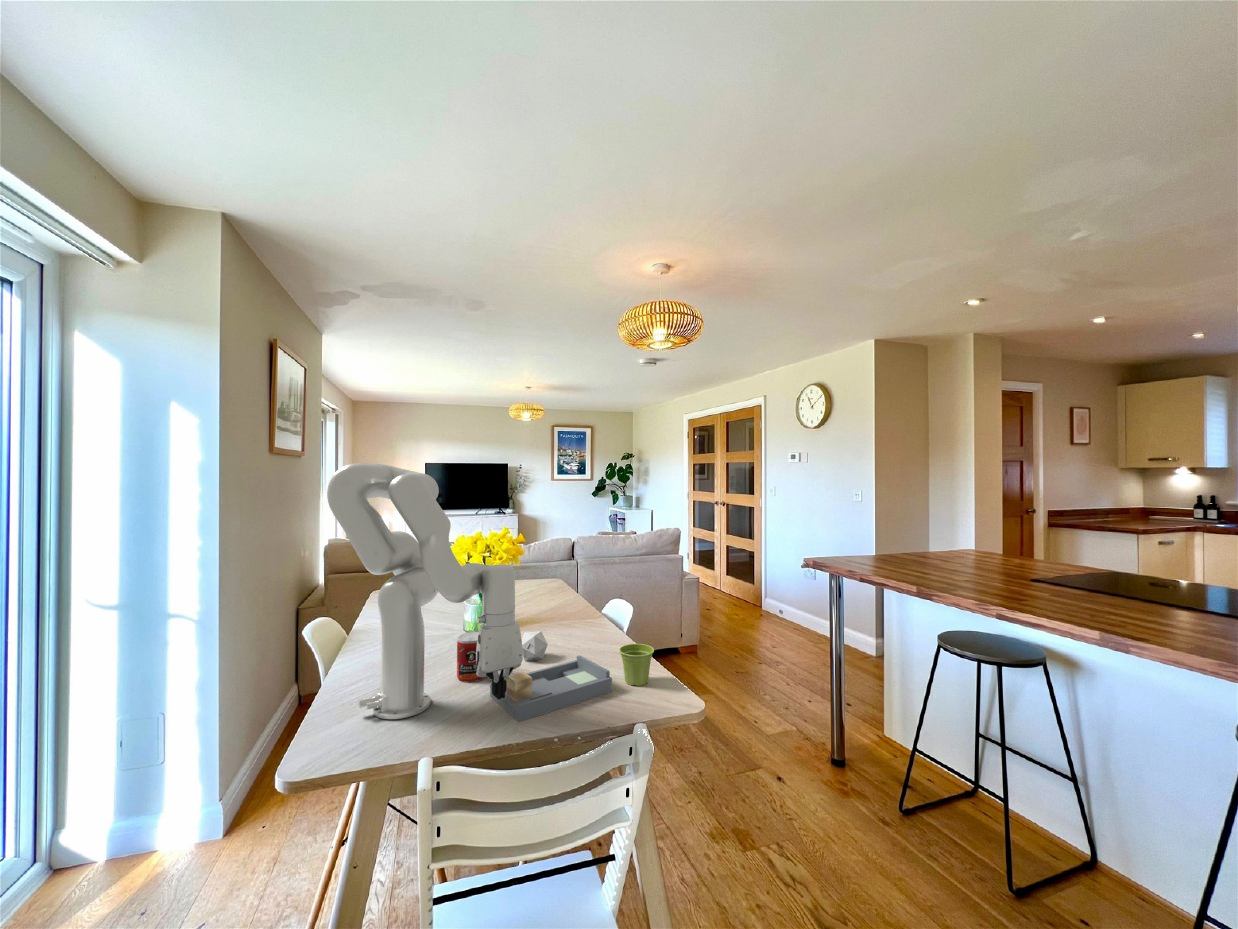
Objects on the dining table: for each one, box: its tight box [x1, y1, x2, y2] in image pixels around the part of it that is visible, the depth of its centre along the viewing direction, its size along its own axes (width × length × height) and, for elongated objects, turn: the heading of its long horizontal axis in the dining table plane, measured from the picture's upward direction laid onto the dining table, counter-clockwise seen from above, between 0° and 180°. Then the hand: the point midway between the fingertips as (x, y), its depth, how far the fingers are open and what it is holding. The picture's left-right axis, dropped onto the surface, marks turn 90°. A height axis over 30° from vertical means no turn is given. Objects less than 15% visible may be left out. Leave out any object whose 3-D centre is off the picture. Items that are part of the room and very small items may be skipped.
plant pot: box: [618, 643, 655, 687], centre depth 135 cm, size 9×9×9 cm
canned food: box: [456, 631, 484, 683], centre depth 138 cm, size 8×8×11 cm
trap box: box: [489, 654, 613, 723], centre depth 127 cm, size 26×16×5 cm, turn 128°
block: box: [507, 671, 532, 701], centre depth 122 cm, size 4×4×4 cm
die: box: [521, 630, 549, 662], centre depth 152 cm, size 8×9×10 cm
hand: (499, 696), depth 118 cm, fingers closed
